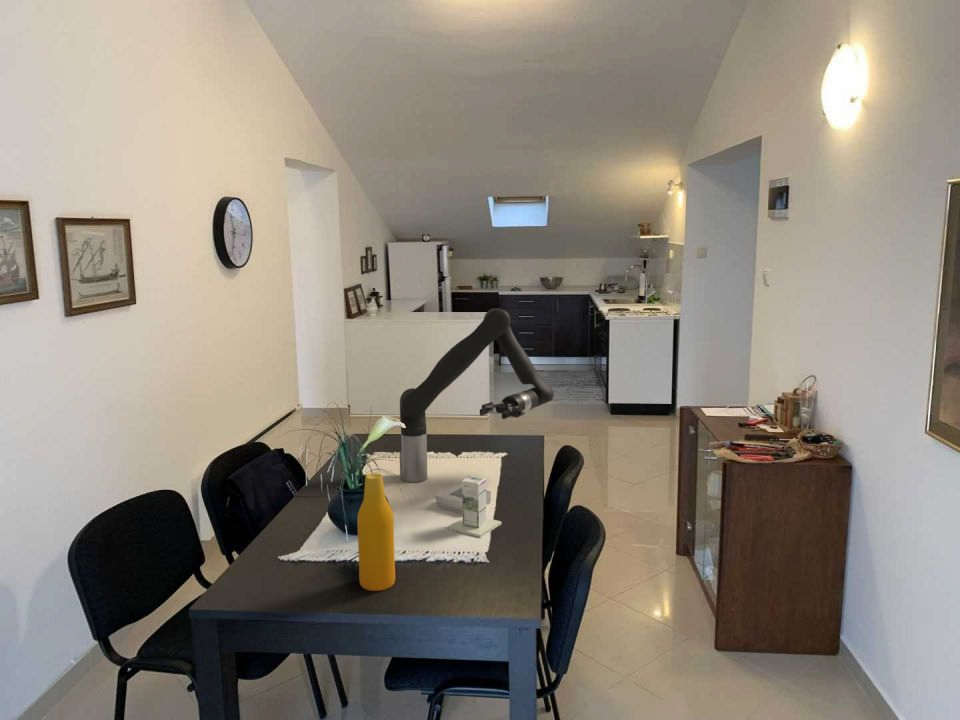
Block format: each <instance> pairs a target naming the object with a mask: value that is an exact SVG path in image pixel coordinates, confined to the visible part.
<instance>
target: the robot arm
mask: <svg viewBox="0 0 960 720" xmlns="http://www.w3.org/2000/svg"><path fill="white" fill-rule="evenodd" d="M494 341H497V343H498V345H499V346H500V347H501V349H502V350H503V353H504V354H505V356H506V359H508V362H509V363H510V365H511V368H512V369H513V371H514V373H515V375H516V377H517V378H518V380H519V382H520V383H521V384H522V385H532V386H534V387H532V388H529V389H525V390H523V391H519V392H516V393H513V394H510V395H507V396H505V397H504V398H503V399H502V400H501V401H499V402H498V403H494V401H490V402H487V403H484V404H481V408H480V409H479V416H485V415H488V414H491V415H501V420H506V419H508V418H515V419H518V418H520V417H522V416H524V415H525V414H526V413H527V412H528V411H531V410H533V409H535V408H537V407H540V406H542V405H544V404H546V403H549V402H551V401H553V400H554V393H555V392H554V390H553V387H552V386H551V385H550V384H549V383H548V381H547V380H546V379H544V378H543V377H542V375H541V374H540V373H539V372H538V371H537V369H536V368H535V366H534V365H533V362H532V360H531V359H530V358H529V356H528V354H527V353H526V351H525V350H524V349H523V347H522V346H521V344H519V342H518V340H517V338H516V336H515V334H514V333H513V331H512V328H511V316H510V314H509V313H508V311H506V310H504V309H502V308H491V309H489V310H488V311H486V312H485V314H484V317H483V320H482V321H481V322H480V324H479V325H478V326H477V327H476V328H475V329H474V330H473V331H472V332H471V333H470V334H469V335H467V336H466V337H464V338H462V339H461V340H460V341H458V342H457V343H456V344H455V345H453V347H451V348H450V349H449V350H448V351H447V352H445V354H444V355H443V356H441V358H440V359H439V360H438V362H437V363H435V364H436V365H434V367H433V369H432V370H431V372H430V373H429V375H428V376H427V377H426V378H425V379H424V381H422V383H420V384H419V385H418V386H417V387H416V388H412V387H411V388H408V389H405V390H404V391H403V392H402V393H401V396H400V398H399V416H400V417H399V419H400V421H399V422H402V423H404V424H405V426H406V428H402V427H401V426H400V438H401V441H400V442H401V452H399V479H401V480H402V481H404V482H406V483H421V482H424V481H426V480H427V479H428V444H427V443H428V441H427V440H428V438H427V434H428V433H427V421H426V419H427V418H426V411H427V410H428V408H429V407H430V406H431V404H432V403H433V402H434V401H435V400H436V398H438V396H439V395H440V394H441V393H442V392H444V390H446V389H447V388H448V387H450V385H451V384H453V383H454V381H456V380H457V379H458V378H459V377H460V376H461V375H462V374H463V373H464V372H465V371H466V370H467V369H469V368H470V366H471V365H472V364H473V363H474V362H475V361H476V360H477V359H478V358H479V357H480V355H481V354H482V353H483V352H484V350H485V349H486V348H488V346H489V345H490V344H492V343H493V342H494Z"/></svg>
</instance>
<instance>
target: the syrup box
mask: <svg viewBox="0 0 960 720" xmlns="http://www.w3.org/2000/svg"><path fill="white" fill-rule="evenodd" d="M461 485H462V507H463V514H462V518H463V525H466V526H471V527H476V528H479V527H481V526H482V525H483V524H484V523H486V521H487V519H486V518H487V505H486V490H487V478H486V477H482V476H475V475H468V476H467V477H464V479H463V480H462V481H461Z"/></svg>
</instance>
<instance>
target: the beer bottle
mask: <svg viewBox="0 0 960 720" xmlns="http://www.w3.org/2000/svg"><path fill="white" fill-rule="evenodd" d="M364 478H365V480H364V492H363V501H362V503H361V505H360V508H359V510H358V513H357V520H356V522H357V523H356V524H357V542H358V547H357V548H358V549H357V550H358V569H359V570H358V572H359V573H358V575H359V577H358V578H359V584H360V586H361V587H362V588H363V589H364V590H365V591H371V592H379V591H385V590H387V589H389V588H391V587H393V585H394V584H395V581H396V567H395V566H396V565H395V564H396V563H395V561H396V560H395V559H396V558H395V534H394V533H395V532H394V531H395V530H394V529H395V528H394V527H395V526H394V522H395V521H394V520H395V519H394V514H393V510H392V507H391V506H390V504H389V502H388V500H387V497H386V492H385V485H384V479H383V475H382V474H380V473H369V474H366V475H365V477H364Z"/></svg>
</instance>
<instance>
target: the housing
mask: <svg viewBox="0 0 960 720" xmlns="http://www.w3.org/2000/svg"><path fill="white" fill-rule="evenodd" d="M435 497H436V498H435V502H436V503H435V504H436V505H435V506H436V508H437V509H442V508H443V509H442V510H446V509H447V510H446V511H450V510H451V511H450V512H454V511H455V513H458V512H460V513H459V514H462V513H463V507H462V484H460V483H458V484H456V485H455V486H452V487H451V488H449V489H447V490H445V491H443V492H441V493H438V494H437V495H436V496H435ZM491 497H492V491H491V490H487V489H486V506H488V505H489V504H491V503H490V502H492V498H491ZM487 504H488V505H487Z"/></svg>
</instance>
